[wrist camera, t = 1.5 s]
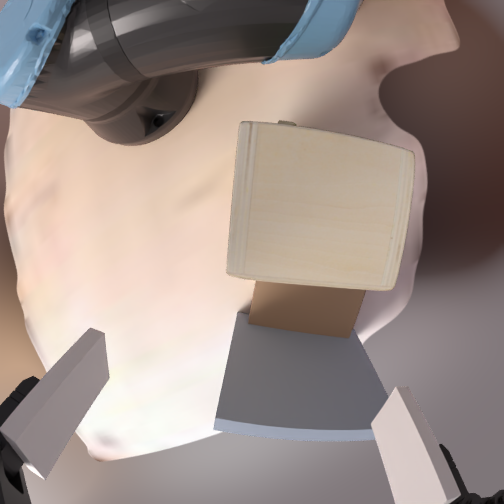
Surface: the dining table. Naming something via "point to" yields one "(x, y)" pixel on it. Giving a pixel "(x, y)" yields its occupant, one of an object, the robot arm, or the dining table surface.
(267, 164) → the toy refrigerator
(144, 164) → the dining table surface
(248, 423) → the board
